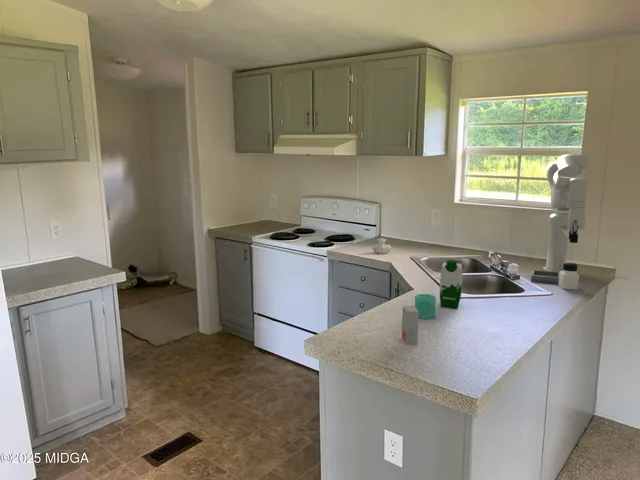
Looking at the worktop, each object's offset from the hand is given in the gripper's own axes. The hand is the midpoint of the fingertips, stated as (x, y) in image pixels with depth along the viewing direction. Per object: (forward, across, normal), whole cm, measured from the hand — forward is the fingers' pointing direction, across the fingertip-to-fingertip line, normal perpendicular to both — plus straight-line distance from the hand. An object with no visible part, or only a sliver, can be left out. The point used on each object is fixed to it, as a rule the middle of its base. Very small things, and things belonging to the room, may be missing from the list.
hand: (572, 241), depth 229 cm
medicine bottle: (+23, 0, 0) cm, 23 cm away
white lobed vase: (+22, -37, -105) cm, 113 cm away
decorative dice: (+24, +68, -54) cm, 90 cm away
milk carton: (+24, +50, -47) cm, 73 cm away
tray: (+23, -11, -10) cm, 27 cm away
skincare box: (+24, +96, -54) cm, 112 cm away
